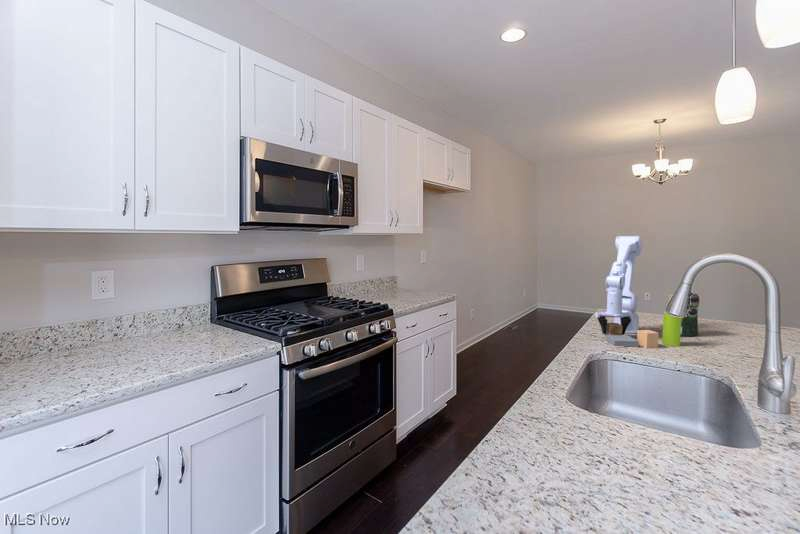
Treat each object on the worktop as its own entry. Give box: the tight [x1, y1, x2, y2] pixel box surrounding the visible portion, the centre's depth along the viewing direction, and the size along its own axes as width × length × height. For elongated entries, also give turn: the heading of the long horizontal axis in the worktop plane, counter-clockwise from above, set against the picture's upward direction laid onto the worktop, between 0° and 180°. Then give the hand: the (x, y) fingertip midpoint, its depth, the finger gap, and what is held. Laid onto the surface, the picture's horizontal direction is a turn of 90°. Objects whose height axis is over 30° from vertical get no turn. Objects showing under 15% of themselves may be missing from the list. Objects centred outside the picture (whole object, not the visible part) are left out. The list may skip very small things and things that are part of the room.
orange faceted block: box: [636, 329, 659, 349], centre depth 153 cm, size 5×5×6 cm
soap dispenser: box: [661, 294, 681, 347], centre depth 155 cm, size 6×7×20 cm
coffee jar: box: [680, 293, 700, 337], centre depth 169 cm, size 10×8×19 cm
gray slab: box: [604, 334, 640, 348], centre depth 156 cm, size 9×9×3 cm
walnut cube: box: [604, 322, 623, 336], centre depth 166 cm, size 5×5×6 cm
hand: (613, 333), depth 166 cm, fingers open, 7 cm apart
